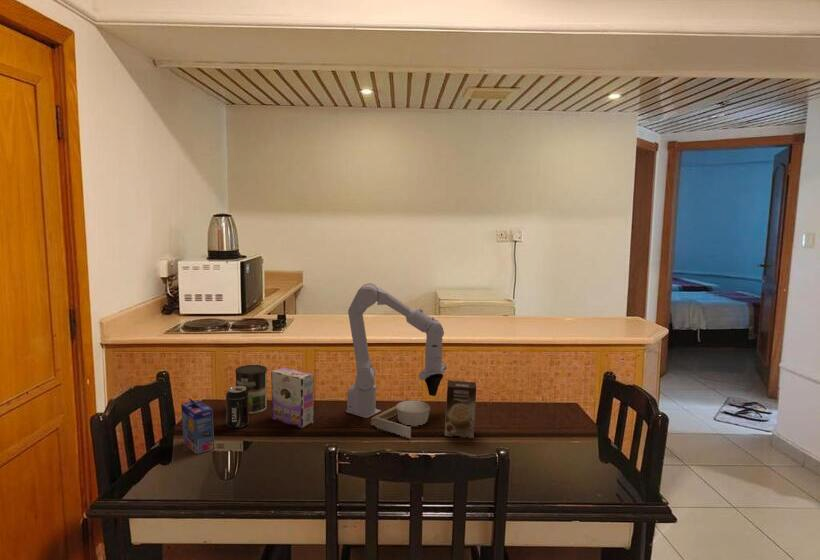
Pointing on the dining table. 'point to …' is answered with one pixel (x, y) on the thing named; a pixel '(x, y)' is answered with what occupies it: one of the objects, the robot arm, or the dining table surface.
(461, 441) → the dining table surface
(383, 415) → the oak rail
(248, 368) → the coffee can
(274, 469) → the dining table surface
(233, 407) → the beverage can
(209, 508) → the dining table surface
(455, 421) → the coffee box
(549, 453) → the dining table surface
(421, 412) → the ramekin
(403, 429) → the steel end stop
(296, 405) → the candy box
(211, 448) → the ink cartridge box
